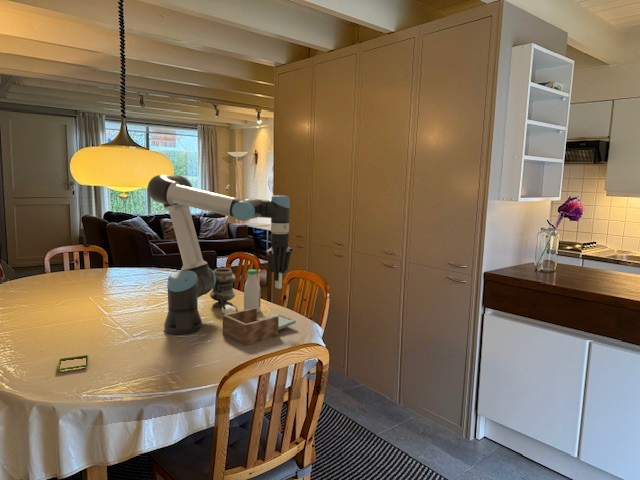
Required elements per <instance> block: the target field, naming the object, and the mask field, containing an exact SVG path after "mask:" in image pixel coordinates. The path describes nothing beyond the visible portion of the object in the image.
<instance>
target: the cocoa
mask: <svg viewBox="0 0 640 480" xmlns="http://www.w3.org/2000/svg"><path fill="white" fill-rule="evenodd" d="M219 298H220V301H221V303H222V306H223V307H222V308H221V315H225V314H229V313H234V312H238V310H237V307H235V306H234V305H233V306H231V305H224V302H223V299H222V296H221V295H219Z"/></svg>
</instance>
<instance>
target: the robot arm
mask: <svg viewBox="0 0 640 480" xmlns="http://www.w3.org/2000/svg"><path fill="white" fill-rule="evenodd" d="M147 193H148V195H149V197H150V198H151V199H152V200H153V201H154V202H155V203H159V204H163V208H164V210H166V211H168V212H169V215H170V220H171V223H172V227H173V230H174V235H175V238H176V242H177V246H178V249H179V253H180V256H181V260H182V267H181V269H180V270H179V271H175V272H173V273H171V274H170V275H169V276H168V277H167V283H166V286H167V308H168V311H167V314H166V317H165V321H164V324H163V327H164V329H163V330H164V332H165V333H167V334H170V335H188V334H192V333H193V334H194V333H196V332H199V331H200V330H202V329H203V320H202V318H201V314H200V312H199V310H198V309H199V308H198V299H199V298H201V297H202V296H204V295H207V294H208V293H211V291H212V290H213V287H214V286H215V283H216V276H215V273H214V270H213V269H211V268H210V267H209V264H208V262H207V261H206V260H204V258H203V254H202V251H201V247H200V242H199V239H198V235H197V232H196V228H195V225H194V221H193V217H192V212H191V208H193V209H199V210H203V211H206V212H210V213H211V212H212V213H215V214H219V215H223V216H224V215H225V216H229V217H232V218H235V219H236V220H238V221H242V222H246V221H250V220H252V219H257V218H260V219H264V218H266V219H270V232H271V233H270V243H271V245H270V247H269V248H268V249H266V250H265V253H266V255H267V260H268V265H269V272H271V273H273V274H274V275H273V280H274V283H275V284H274V285H275V286H274V288H276V289H279V290H280V289H282V288H283V280H284V274H285V273H286V272H287V271H288V268H289V264H290V260H291V259H290V258H291V255H292V252H293V248H292V247H290V246H289V240H290V234H289V231H290V213H291V212H290V210H291V206H290V201H291V200H290V197H289V196H287V195H281V194H280V195H279V194H277V195H276V194H275V195H271V198H270V199H260V198H259V199H258V198H246V199H243V198H242V199H241V198H238V197H233V196H228V195H225V194H220V193H216V192H211V191H208V190H203V189H198V188H196V187H193V185H192V183H191V181H190V180H189V179H188V178H187V177H186V176H183V175H180V174H158V175H155V176H153V177H152V178H151V179H150V180H149V182H148V183H147Z"/></svg>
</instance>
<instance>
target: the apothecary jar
mask: <svg viewBox="0 0 640 480" xmlns="http://www.w3.org/2000/svg"><path fill="white" fill-rule="evenodd" d="M213 272H214V273H215V276H216V283H215V286H214V287H213V289H212V290H211V291H210V292H209V297H210V298H211V299H212V300H213V301H216V302H214V303H213V304H212V307H213V308H215V309H222V307H223V306H222V303H221V301H220V298H219V295H221V296H222V299H223V302H224V305H231V306H233V307H234V304H233V303H232V302H230V301H231V300H232V299H234V298H235V297H236V292H235V291H234V287H233V282H234V281H235V280H236V276H235V274H234V273H233V271H232V269H230V268H225V267H223V268H222V267H221V268H215V269H214V270H213Z"/></svg>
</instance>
